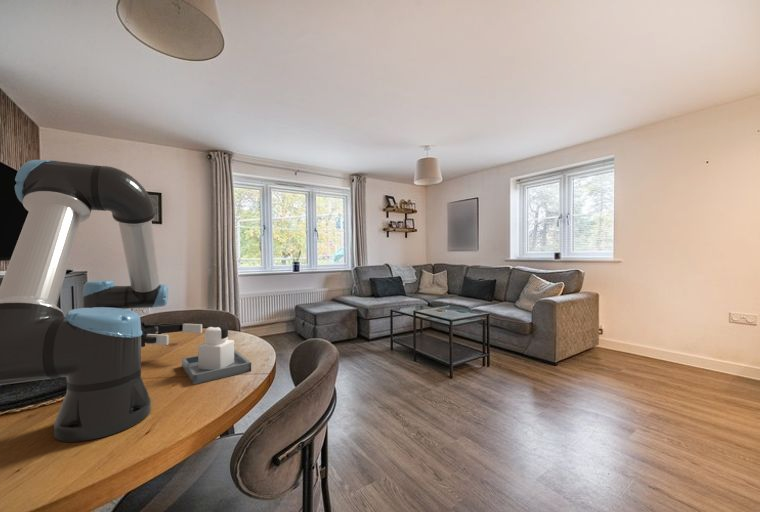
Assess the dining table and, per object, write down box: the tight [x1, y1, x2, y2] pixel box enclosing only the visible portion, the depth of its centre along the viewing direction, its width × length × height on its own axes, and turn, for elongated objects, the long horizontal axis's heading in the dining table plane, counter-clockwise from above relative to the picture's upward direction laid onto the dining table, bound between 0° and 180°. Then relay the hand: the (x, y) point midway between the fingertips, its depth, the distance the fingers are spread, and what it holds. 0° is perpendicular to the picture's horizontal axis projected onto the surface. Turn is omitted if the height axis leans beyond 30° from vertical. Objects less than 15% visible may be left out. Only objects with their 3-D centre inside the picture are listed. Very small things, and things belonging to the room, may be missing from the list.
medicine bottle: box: [197, 324, 235, 370], centre depth 95 cm, size 7×7×12 cm
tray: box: [181, 348, 252, 385], centre depth 95 cm, size 17×15×2 cm
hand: (185, 333), depth 96 cm, fingers open, 13 cm apart
